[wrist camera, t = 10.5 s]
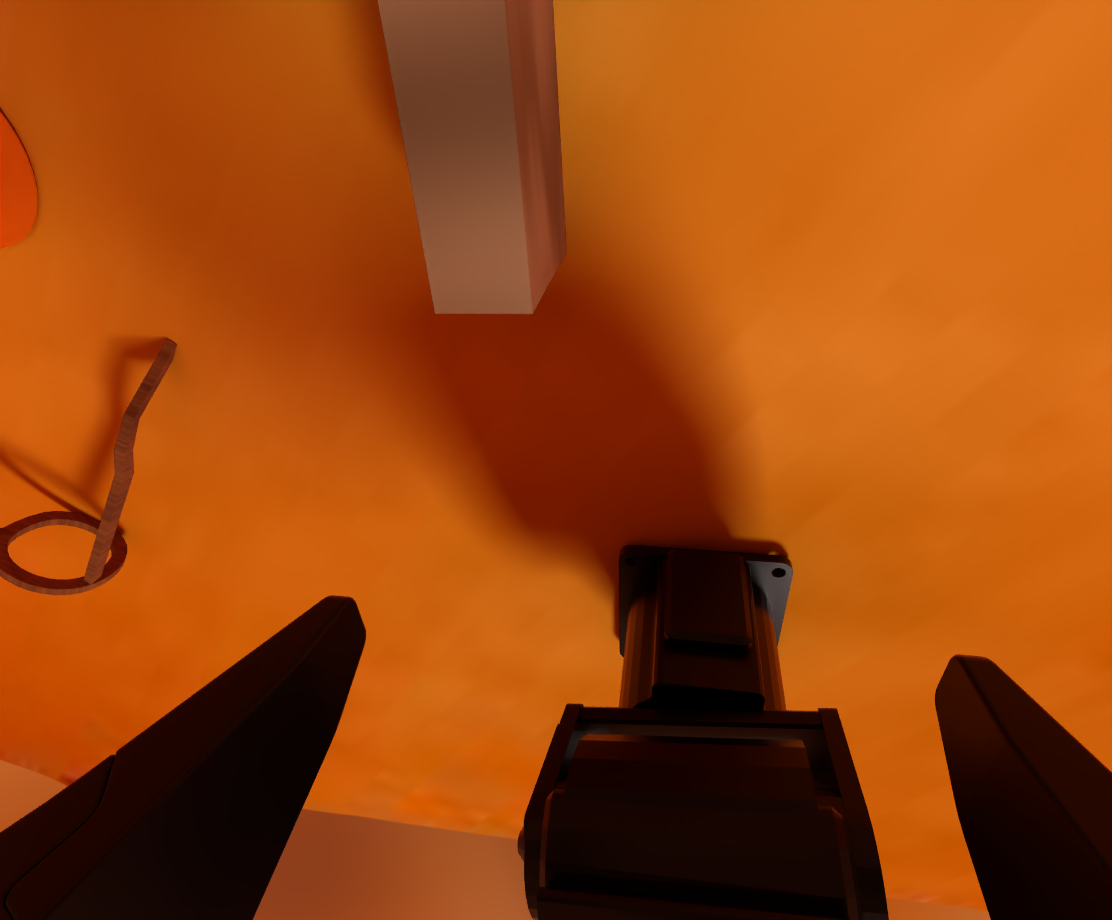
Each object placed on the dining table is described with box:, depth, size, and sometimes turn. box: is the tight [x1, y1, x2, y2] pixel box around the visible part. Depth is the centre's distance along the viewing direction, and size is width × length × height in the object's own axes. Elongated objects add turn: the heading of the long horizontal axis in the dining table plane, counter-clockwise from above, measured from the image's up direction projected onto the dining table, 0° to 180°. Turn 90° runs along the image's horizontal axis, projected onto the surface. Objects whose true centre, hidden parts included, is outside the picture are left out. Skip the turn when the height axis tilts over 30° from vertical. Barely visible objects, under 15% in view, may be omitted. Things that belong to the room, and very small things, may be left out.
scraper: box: [378, 0, 567, 314], centre depth 14 cm, size 9×14×5 cm, turn 94°
